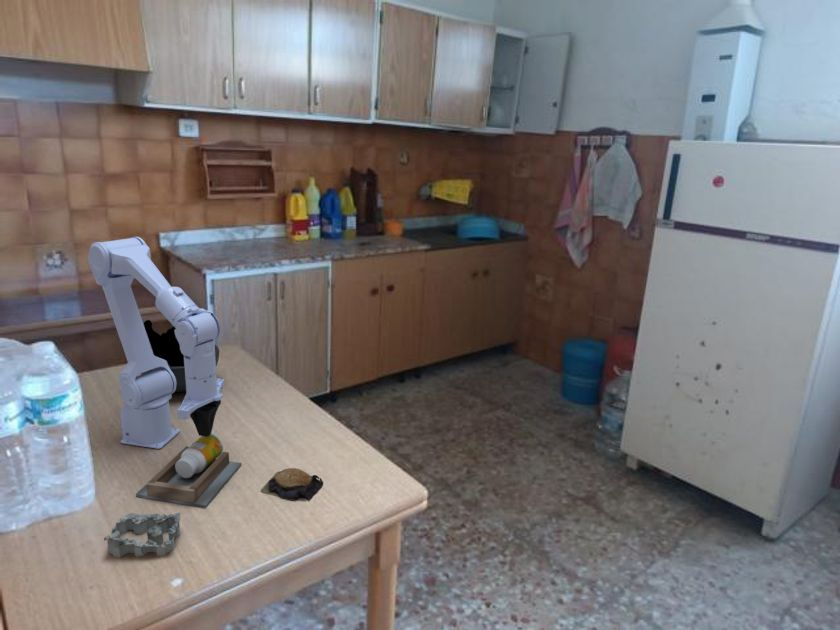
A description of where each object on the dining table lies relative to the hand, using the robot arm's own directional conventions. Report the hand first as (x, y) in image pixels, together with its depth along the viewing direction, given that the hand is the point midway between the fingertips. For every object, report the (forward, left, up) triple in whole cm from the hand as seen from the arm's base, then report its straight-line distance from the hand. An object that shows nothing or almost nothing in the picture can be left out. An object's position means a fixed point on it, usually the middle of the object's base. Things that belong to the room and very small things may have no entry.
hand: (205, 434), depth 118 cm
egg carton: (+2, -24, -7) cm, 25 cm away
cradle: (0, -6, -7) cm, 9 cm away
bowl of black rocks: (-24, +30, -7) cm, 39 cm away
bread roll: (+20, -3, -8) cm, 21 cm away
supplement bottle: (0, +3, -4) cm, 4 cm away
